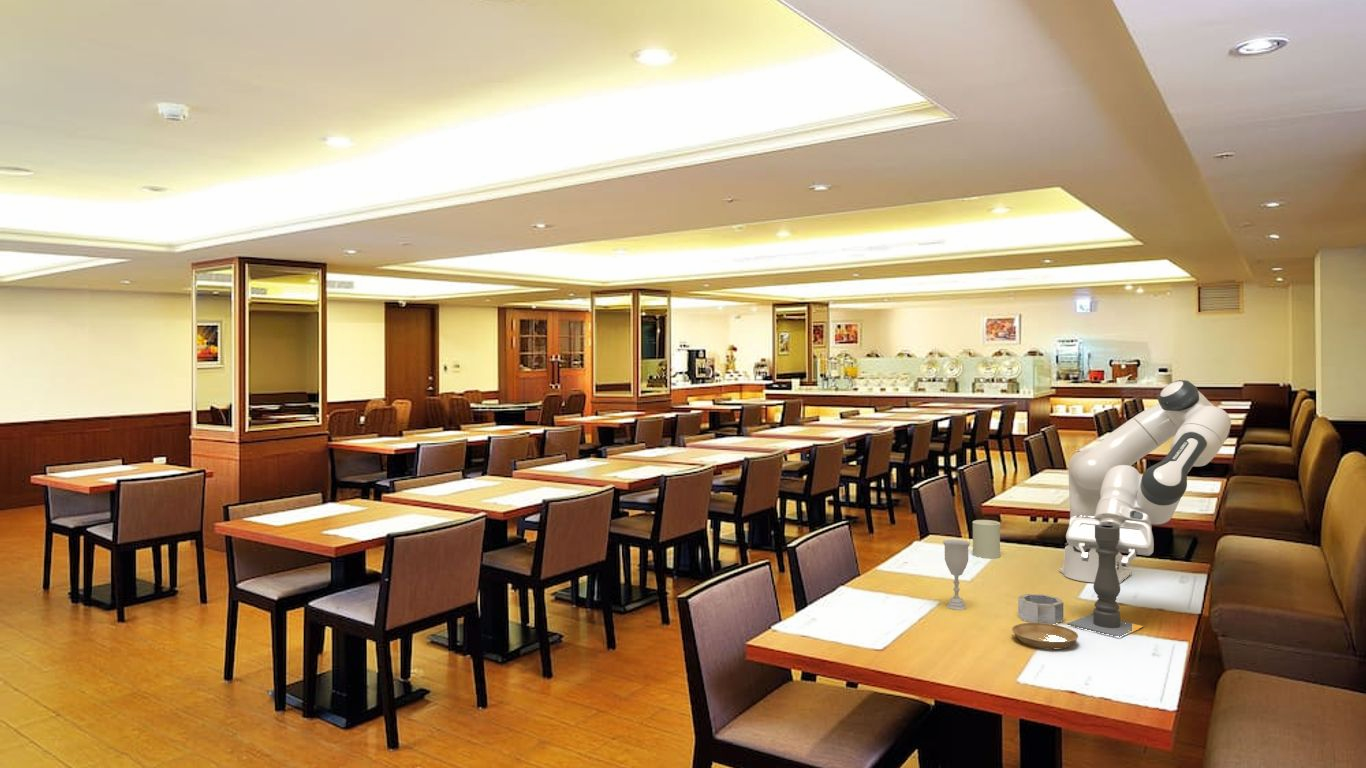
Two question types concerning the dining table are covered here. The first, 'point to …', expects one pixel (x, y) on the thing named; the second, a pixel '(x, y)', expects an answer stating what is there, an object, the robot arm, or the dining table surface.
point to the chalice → (956, 567)
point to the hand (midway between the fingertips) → (1104, 562)
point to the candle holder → (1107, 577)
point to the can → (986, 539)
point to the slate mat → (1089, 625)
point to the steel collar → (1040, 608)
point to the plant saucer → (1044, 634)
